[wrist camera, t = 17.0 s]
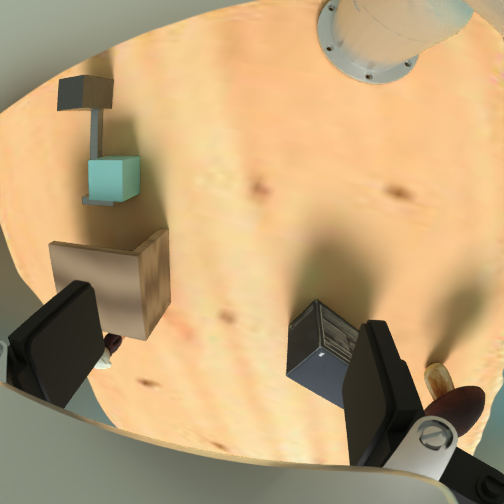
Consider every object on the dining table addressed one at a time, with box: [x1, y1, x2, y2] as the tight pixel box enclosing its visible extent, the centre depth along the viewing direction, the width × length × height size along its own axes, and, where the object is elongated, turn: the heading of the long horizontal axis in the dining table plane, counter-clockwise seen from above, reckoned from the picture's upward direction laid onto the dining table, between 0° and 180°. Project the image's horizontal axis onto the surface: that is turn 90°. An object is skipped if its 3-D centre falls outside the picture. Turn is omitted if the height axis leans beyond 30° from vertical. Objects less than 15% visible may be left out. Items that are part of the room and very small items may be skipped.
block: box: [88, 156, 140, 202], centre depth 38 cm, size 5×5×5 cm
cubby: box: [48, 228, 171, 341], centre depth 40 cm, size 11×13×10 cm
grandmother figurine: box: [94, 333, 125, 369], centre depth 42 cm, size 8×4×13 cm, turn 158°
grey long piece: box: [57, 75, 121, 206], centre depth 35 cm, size 16×6×7 cm, turn 176°
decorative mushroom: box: [424, 363, 485, 438], centre depth 39 cm, size 11×11×15 cm
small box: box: [286, 300, 359, 409], centre depth 40 cm, size 11×6×10 cm, turn 53°
